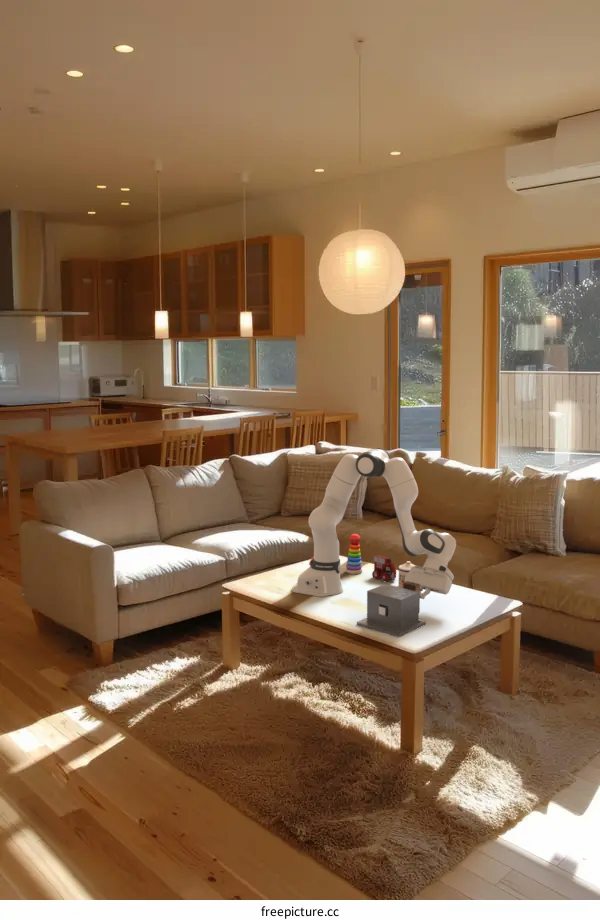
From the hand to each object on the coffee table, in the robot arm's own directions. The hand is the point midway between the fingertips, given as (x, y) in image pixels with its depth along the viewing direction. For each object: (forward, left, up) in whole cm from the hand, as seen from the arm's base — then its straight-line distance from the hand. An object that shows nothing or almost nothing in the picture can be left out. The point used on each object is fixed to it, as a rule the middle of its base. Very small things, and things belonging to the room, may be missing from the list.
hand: (420, 597), depth 330 cm
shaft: (-6, -13, -5) cm, 16 cm away
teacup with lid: (-9, +31, -6) cm, 33 cm away
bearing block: (-8, -17, -6) cm, 19 cm away
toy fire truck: (-23, +40, -6) cm, 47 cm away
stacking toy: (-39, +46, -6) cm, 61 cm away
